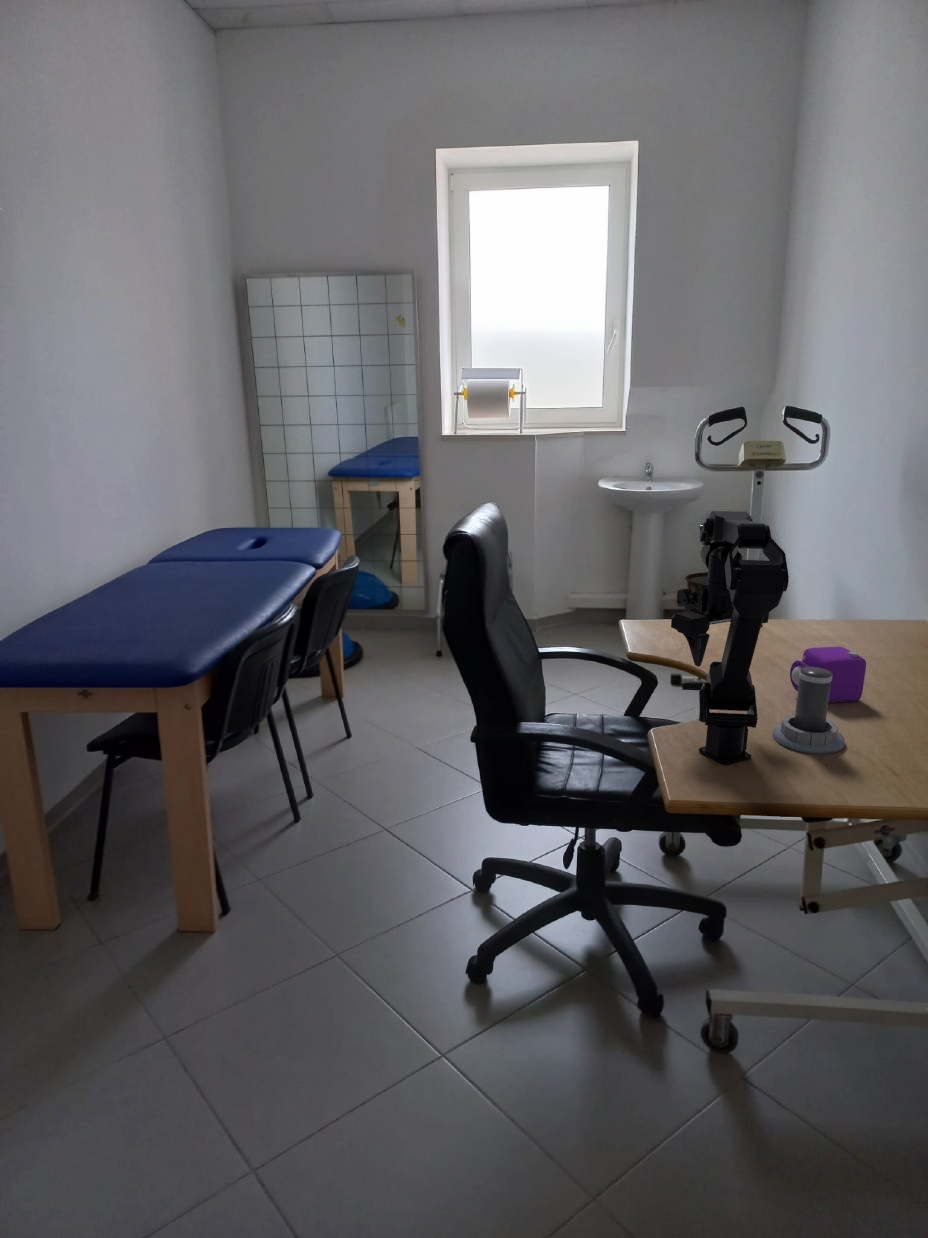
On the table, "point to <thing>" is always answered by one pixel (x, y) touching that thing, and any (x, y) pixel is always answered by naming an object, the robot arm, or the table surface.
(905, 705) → the table surface
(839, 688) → the toy camera
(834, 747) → the ring
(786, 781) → the table surface
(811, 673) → the grey domed cylinder
